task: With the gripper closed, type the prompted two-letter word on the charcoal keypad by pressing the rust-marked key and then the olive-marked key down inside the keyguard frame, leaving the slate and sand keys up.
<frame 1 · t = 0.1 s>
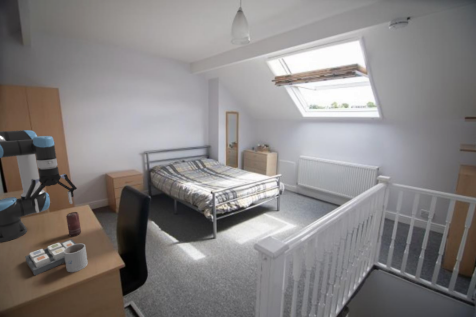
hand: (54, 207, 113), 28 cm above the table, fingers open, 13 cm apart
can: (75, 234, 139), on the table
mug: (76, 264, 111), on the table
key olive: (55, 248, 118), point 4 cm above the table, slide at 0.0 cm
key rust: (41, 260, 108), point 4 cm above the table, slide at 0.0 cm
key slate: (37, 254, 113), point 4 cm above the table, slide at 0.0 cm
keypad: (55, 257, 116), on the table
key sand: (59, 253, 114), point 4 cm above the table, slide at 0.0 cm
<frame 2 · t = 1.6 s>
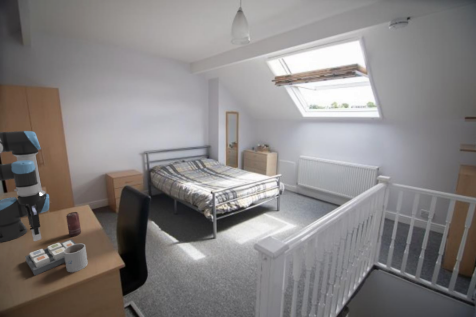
hand: (37, 239, 106), 15 cm above the table, fingers closed
nothing on the table moved.
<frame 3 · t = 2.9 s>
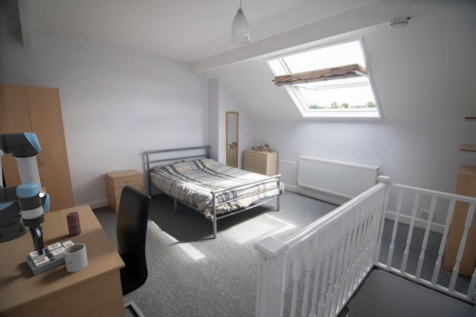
hand: (41, 259, 108), 4 cm above the table, fingers closed
key rust: (42, 262, 109), point 2 cm above the table, slide at 1.4 cm, touching gripper
everything else where it was.
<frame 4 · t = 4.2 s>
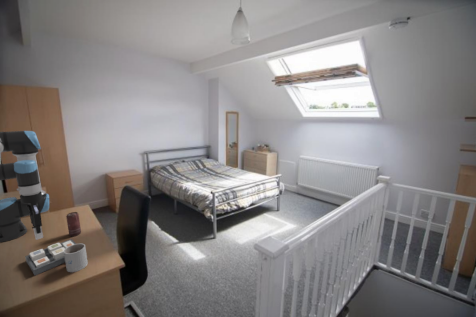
hand: (39, 238, 107), 15 cm above the table, fingers closed
key rust: (42, 263, 109), point 2 cm above the table, slide at 1.5 cm
everything else where it was.
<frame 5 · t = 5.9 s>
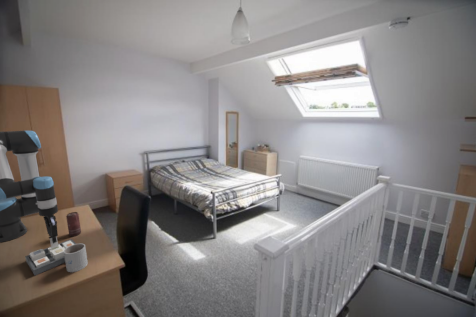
hand: (54, 247, 118), 4 cm above the table, fingers closed
key olive: (55, 249, 118), point 3 cm above the table, slide at 1.1 cm, touching gripper
everything else where it was.
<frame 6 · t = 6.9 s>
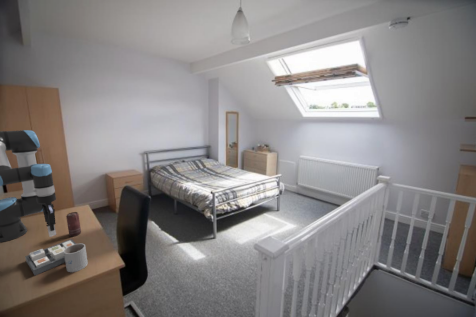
hand: (52, 235, 117), 11 cm above the table, fingers closed
key olive: (55, 250, 119), point 2 cm above the table, slide at 1.5 cm
everything else where it was.
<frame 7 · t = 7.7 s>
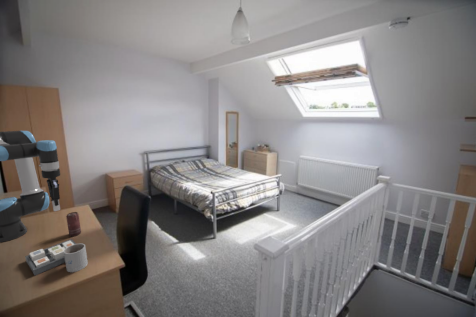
hand: (56, 210, 121), 22 cm above the table, fingers closed
nothing on the table moved.
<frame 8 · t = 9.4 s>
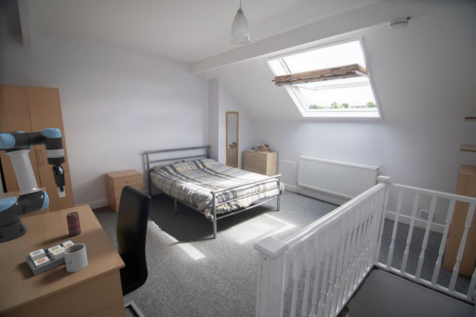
hand: (62, 196, 126), 28 cm above the table, fingers closed
nothing on the table moved.
at the end: key rust slide at 1.5 cm; key olive slide at 1.5 cm; key slate slide at 0.0 cm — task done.
